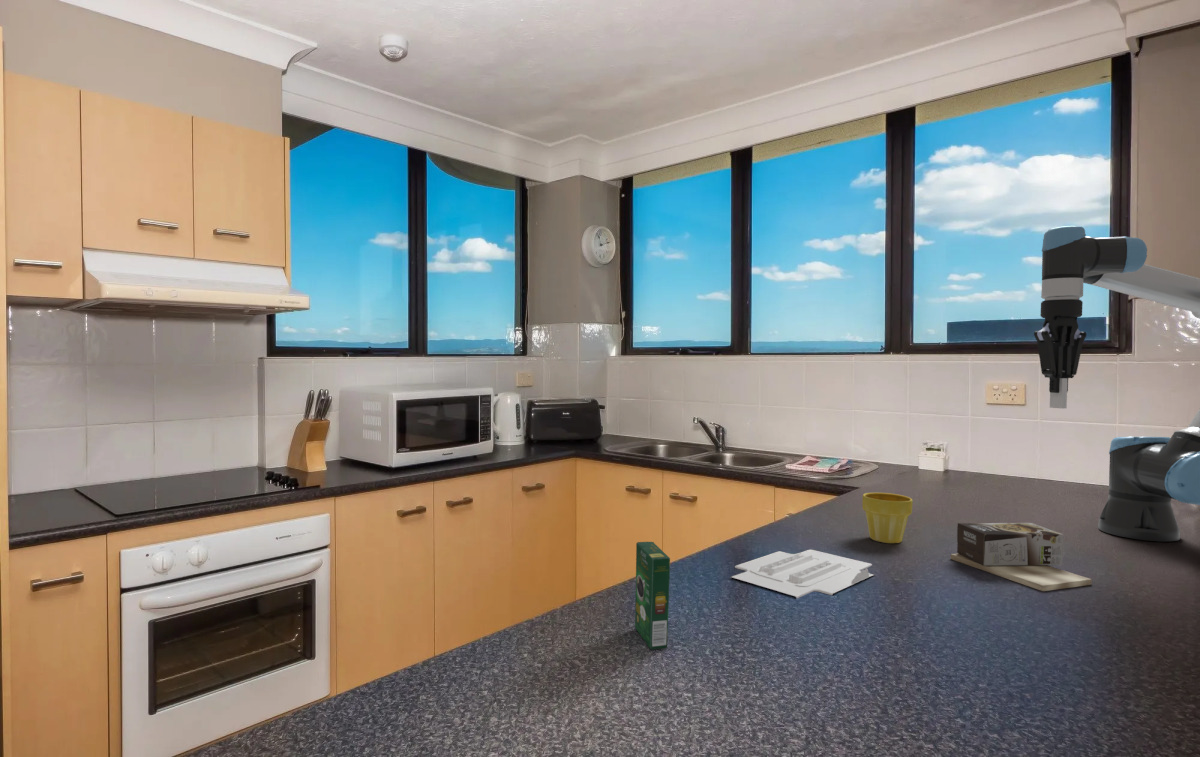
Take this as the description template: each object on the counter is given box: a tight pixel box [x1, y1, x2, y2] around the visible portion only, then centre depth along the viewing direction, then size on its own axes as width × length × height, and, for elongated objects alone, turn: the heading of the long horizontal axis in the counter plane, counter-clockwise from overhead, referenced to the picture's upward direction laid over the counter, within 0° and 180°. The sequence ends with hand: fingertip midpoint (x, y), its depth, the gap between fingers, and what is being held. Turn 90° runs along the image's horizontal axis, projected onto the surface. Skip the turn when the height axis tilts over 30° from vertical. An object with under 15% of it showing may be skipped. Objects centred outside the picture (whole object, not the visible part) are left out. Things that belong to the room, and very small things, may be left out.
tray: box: [729, 549, 875, 599], centre depth 129 cm, size 20×28×4 cm
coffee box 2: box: [956, 522, 1065, 566], centre depth 135 cm, size 9×6×16 cm
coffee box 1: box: [634, 541, 671, 651], centre depth 97 cm, size 8×3×13 cm, turn 13°
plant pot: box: [861, 492, 914, 544], centre depth 153 cm, size 10×10×10 cm
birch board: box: [950, 552, 1093, 592], centre depth 131 cm, size 12×20×1 cm, turn 19°
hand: (1057, 407), depth 148 cm, fingers closed
